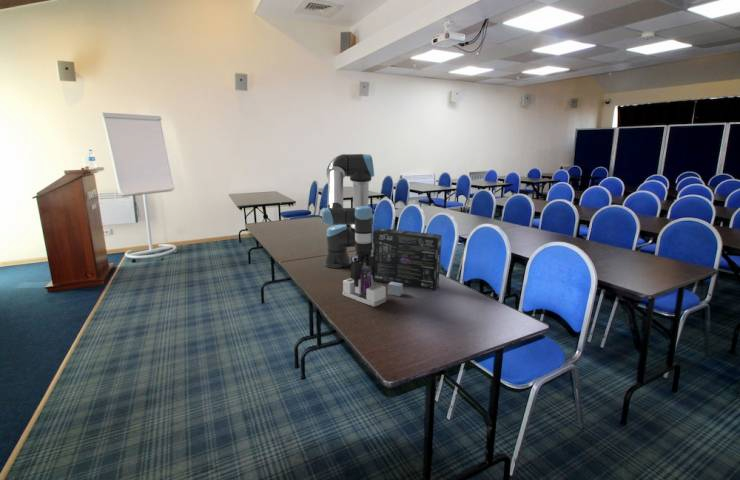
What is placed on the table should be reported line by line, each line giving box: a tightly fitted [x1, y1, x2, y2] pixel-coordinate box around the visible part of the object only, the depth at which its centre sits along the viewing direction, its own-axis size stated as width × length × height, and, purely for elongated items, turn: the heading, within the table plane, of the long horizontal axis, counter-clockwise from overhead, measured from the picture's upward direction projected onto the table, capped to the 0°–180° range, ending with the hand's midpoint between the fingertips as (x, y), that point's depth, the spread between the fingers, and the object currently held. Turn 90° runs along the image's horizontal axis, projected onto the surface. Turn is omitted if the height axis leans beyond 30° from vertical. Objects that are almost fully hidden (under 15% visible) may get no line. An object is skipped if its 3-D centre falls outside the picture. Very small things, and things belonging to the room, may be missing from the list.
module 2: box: [366, 283, 387, 302], centre depth 162 cm, size 8×4×6 cm, turn 137°
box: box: [372, 228, 442, 291], centre depth 183 cm, size 33×7×27 cm, turn 65°
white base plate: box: [342, 290, 387, 308], centre depth 167 cm, size 8×20×2 cm, turn 47°
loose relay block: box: [387, 282, 404, 297], centre depth 172 cm, size 4×6×5 cm, turn 62°
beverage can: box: [356, 264, 373, 294], centre depth 166 cm, size 7×7×12 cm
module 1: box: [342, 277, 355, 293], centre depth 172 cm, size 8×4×6 cm, turn 137°
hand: (363, 290), depth 167 cm, fingers closed on beverage can, 7 cm apart
